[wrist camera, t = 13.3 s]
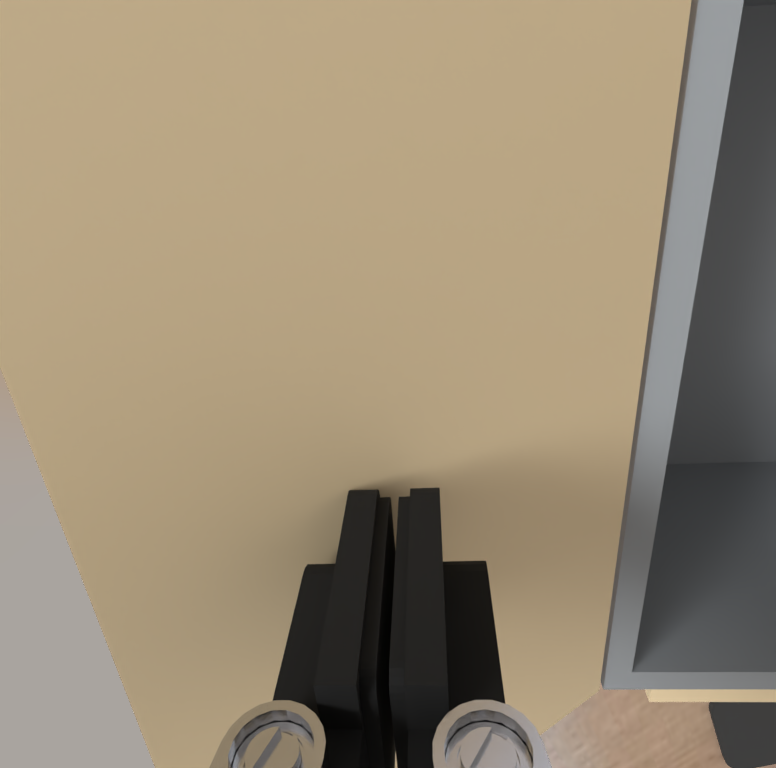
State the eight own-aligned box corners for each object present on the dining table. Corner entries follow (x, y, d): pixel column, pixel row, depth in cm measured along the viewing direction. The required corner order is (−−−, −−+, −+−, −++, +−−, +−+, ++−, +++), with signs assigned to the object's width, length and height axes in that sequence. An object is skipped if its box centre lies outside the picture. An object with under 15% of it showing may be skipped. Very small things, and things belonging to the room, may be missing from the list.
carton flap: (702, -78, 10) (670, -70, 11) (-205, -163, 5) (-191, -139, 5) (599, 690, 19) (583, 677, 19) (232, 966, 14) (223, 938, 14)
